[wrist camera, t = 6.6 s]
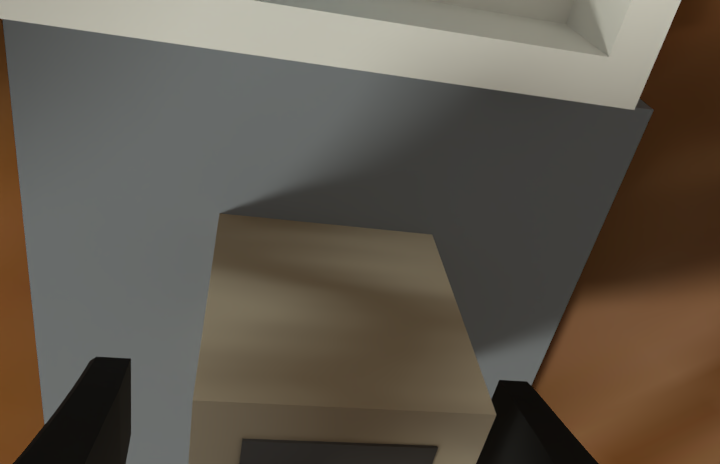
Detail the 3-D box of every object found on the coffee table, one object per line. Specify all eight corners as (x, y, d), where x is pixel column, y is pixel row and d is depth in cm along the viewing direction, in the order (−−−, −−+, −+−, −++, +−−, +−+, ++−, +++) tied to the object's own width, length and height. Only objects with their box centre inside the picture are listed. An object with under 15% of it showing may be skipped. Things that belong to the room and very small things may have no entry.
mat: (58, 453, 18) (50, 479, 17) (18, 3, 12) (1, 15, 11) (478, 467, 20) (484, 489, 19) (635, 95, 14) (653, 110, 13)
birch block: (206, 373, 16) (180, 583, 11) (219, 213, 13) (191, 403, 9) (389, 383, 16) (427, 582, 12) (432, 234, 14) (497, 417, 10)
